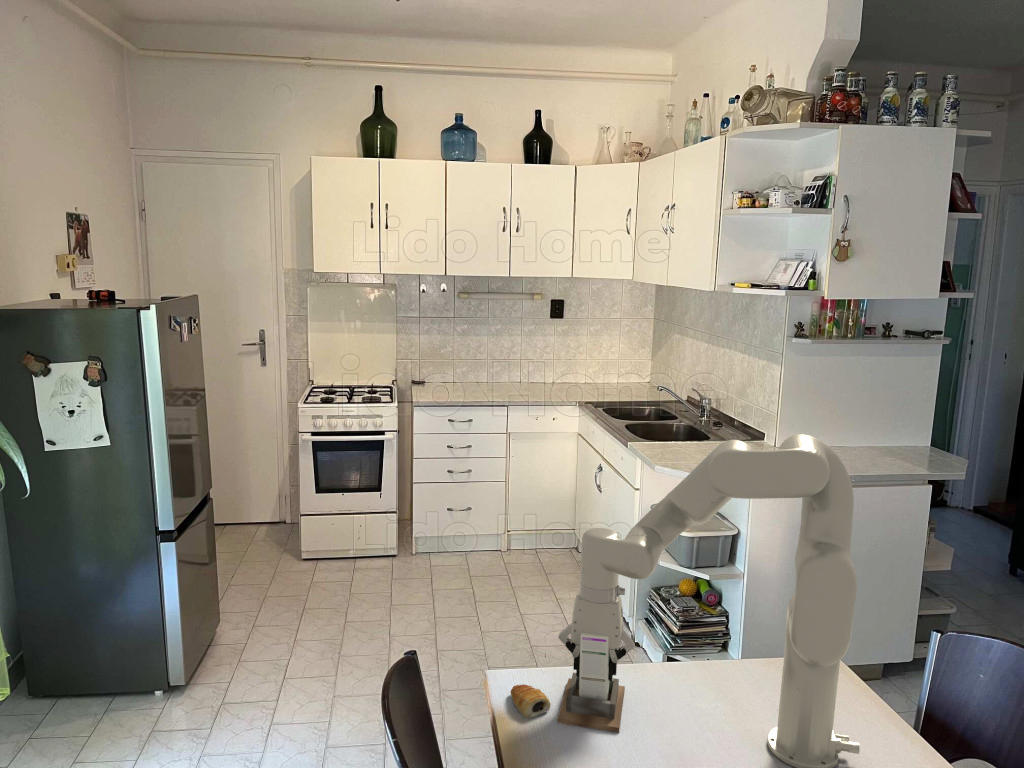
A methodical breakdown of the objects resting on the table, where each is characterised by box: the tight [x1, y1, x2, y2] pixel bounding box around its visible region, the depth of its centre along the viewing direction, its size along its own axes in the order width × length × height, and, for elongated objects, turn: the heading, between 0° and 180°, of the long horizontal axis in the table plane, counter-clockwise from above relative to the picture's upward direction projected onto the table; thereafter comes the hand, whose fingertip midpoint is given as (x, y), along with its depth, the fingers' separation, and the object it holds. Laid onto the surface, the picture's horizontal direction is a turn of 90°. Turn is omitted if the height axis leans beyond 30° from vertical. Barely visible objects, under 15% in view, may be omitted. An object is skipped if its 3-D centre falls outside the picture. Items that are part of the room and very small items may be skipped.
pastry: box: [510, 683, 552, 719], centre depth 154 cm, size 9×7×4 cm
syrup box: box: [579, 633, 610, 701], centre depth 152 cm, size 6×6×14 cm
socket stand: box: [557, 672, 626, 733], centre depth 153 cm, size 12×15×4 cm
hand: (594, 674), depth 153 cm, fingers closed on syrup box, 5 cm apart
